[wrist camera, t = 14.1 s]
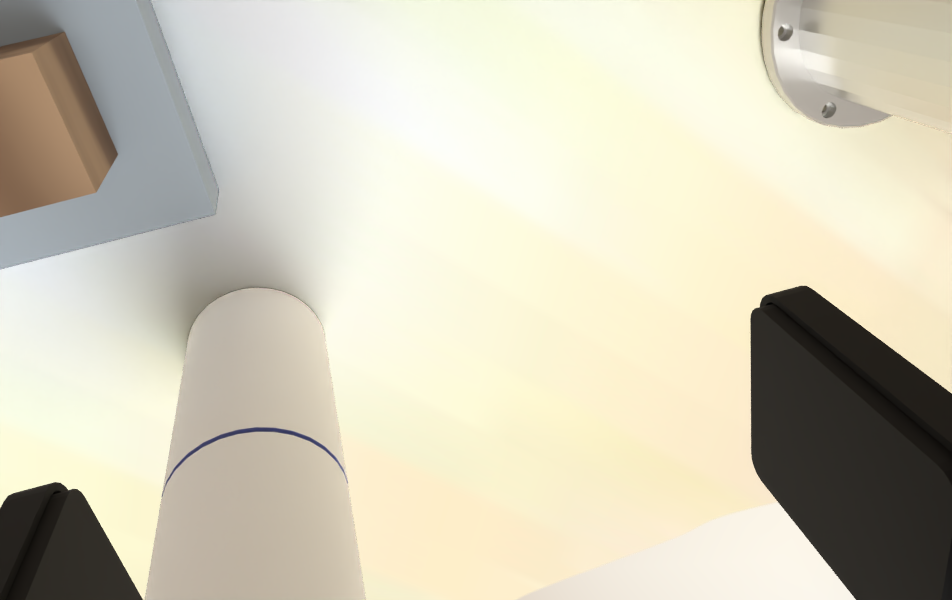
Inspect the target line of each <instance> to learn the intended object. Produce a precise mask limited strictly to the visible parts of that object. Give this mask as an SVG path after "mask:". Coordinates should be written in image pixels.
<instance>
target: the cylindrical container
mask: <svg viewBox="0 0 952 600" xmlns="http://www.w3.org/2000/svg"><path fill="white" fill-rule="evenodd" d="M145 600H366V597H365V590H364V584H363V577H362V571H361V565H360V558H359V552H358V545H357V539H356V532H355V526H354V519H353V513H352V507H351V500H350V494H349V487H348V481H347V474H346V468H345V462H344V455H343V449H342V442H341V436H340V429H339V423H338V417H337V410H336V404H335V397H334V391H333V384H332V378H331V372H330V365H329V359H328V352H327V346H326V339H325V334H324V331H323V328H322V325H321V323H320V321H319V319H318V318H317V316H316V314H315V313H314V312H313V311H312V310H311V309H310V308H309V307H308V305H306V304H305V303H303V302H302V301H301V300H299V299H298V298H296V297H294V296H292V295H290V294H288V293H285V292H283V291H279V290H275V289H271V288H246V289H241V290H237V291H233V292H230V293H228V294H226V295H223V296H221V297H219V298H217V299H216V300H215V301H213V302H212V303H210V304H209V305H208V306H207V307H206V308H205V309H204V310H203V311H202V312H201V313H200V314H199V315H198V317H197V318H196V320H195V322H194V324H193V325H192V327H191V331H190V334H189V338H188V343H187V349H186V355H185V361H184V367H183V373H182V379H181V385H180V391H179V397H178V403H177V409H176V415H175V421H174V427H173V433H172V439H171V445H170V451H169V457H168V463H167V469H166V475H165V481H164V486H163V492H162V499H161V504H160V510H159V516H158V523H157V529H156V535H155V541H154V547H153V553H152V559H151V565H150V571H149V577H148V583H147V589H146V595H145Z"/></svg>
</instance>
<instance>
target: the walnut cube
mask: <svg viewBox="0 0 952 600" xmlns="http://www.w3.org/2000/svg"><path fill="white" fill-rule="evenodd" d="M117 156H118V153H117V151H116V148H115V146H114V144H113V141H112V139H111V137H110V134H109V132H108V130H107V128H106V125H105V123H104V121H103V118H102V116H101V114H100V111H99V109H98V107H97V105H96V102H95V100H94V98H93V95H92V93H91V91H90V88H89V86H88V84H87V82H86V79H85V77H84V75H83V72H82V70H81V68H80V65H79V63H78V61H77V59H76V56H75V54H74V52H73V49H72V47H71V45H70V43H69V40H68V38H67V36H66V33H65V32H61V33H57V34H53V35H48V36H44V37H40V38H35V39H31V40H27V41H22V42H18V43H14V44H9V45H5V46H1V47H0V217H4V216H8V215H12V214H16V213H19V212H23V211H27V210H31V209H35V208H39V207H43V206H47V205H50V204H54V203H58V202H62V201H66V200H70V199H74V198H78V197H81V196H85V195H89V194H93V193H96V192H97V191H98V189H99V187H100V185H101V184H102V182H103V180H104V178H105V177H106V175H107V173H108V171H109V170H110V168H111V166H112V164H113V163H114V161H115V159H116V158H117Z"/></svg>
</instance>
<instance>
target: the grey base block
mask: <svg viewBox="0 0 952 600" xmlns="http://www.w3.org/2000/svg"><path fill="white" fill-rule="evenodd" d="M61 32H65V33H66V36H67V38H68V40H69V43H70V45H71V47H72V49H73V52H74V54H75V56H76V59H77V61H78V63H79V65H80V68H81V70H82V72H83V75H84V77H85V79H86V82H87V84H88V86H89V88H90V91H91V93H92V95H93V98H94V100H95V102H96V105H97V107H98V109H99V111H100V114H101V116H102V118H103V121H104V123H105V125H106V128H107V130H108V132H109V134H110V137H111V139H112V141H113V144H114V146H115V148H116V151H117V153H118V156H117V158H116V159H115V161H114V163H113V164H112V166H111V168H110V170H109V171H108V173H107V175H106V177H105V178H104V180H103V182H102V184H101V185H100V187H99V189H98V191H97V192H96V193H93V194H89V195H85V196H81V197H78V198H74V199H70V200H66V201H62V202H58V203H54V204H50V205H47V206H43V207H39V208H35V209H31V210H27V211H23V212H19V213H16V214H12V215H8V216H4V217H0V269H4V268H8V267H12V266H16V265H19V264H23V263H27V262H31V261H35V260H39V259H43V258H47V257H51V256H55V255H59V254H63V253H67V252H70V251H74V250H78V249H82V248H86V247H90V246H94V245H98V244H102V243H106V242H110V241H114V240H118V239H121V238H125V237H129V236H133V235H137V234H141V233H145V232H149V231H153V230H157V229H161V228H165V227H169V226H172V225H176V224H180V223H184V222H188V221H192V220H196V219H200V218H204V217H208V216H212V215H215V214H216V207H217V200H218V193H219V188H218V185H217V183H216V180H215V177H214V174H213V172H212V169H211V166H210V163H209V161H208V158H207V155H206V152H205V150H204V147H203V144H202V141H201V138H200V136H199V133H198V130H197V127H196V125H195V122H194V119H193V116H192V114H191V111H190V108H189V105H188V103H187V100H186V97H185V94H184V92H183V89H182V86H181V83H180V80H179V78H178V75H177V72H176V69H175V67H174V64H173V61H172V58H171V56H170V53H169V50H168V47H167V45H166V42H165V39H164V36H163V33H162V31H161V28H160V25H159V22H158V20H157V17H156V14H155V11H154V9H153V6H152V3H151V0H0V47H1V46H5V45H9V44H14V43H18V42H22V41H27V40H31V39H35V38H40V37H44V36H48V35H53V34H57V33H61Z"/></svg>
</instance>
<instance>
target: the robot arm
mask: <svg viewBox="0 0 952 600" xmlns="http://www.w3.org/2000/svg"><path fill="white" fill-rule="evenodd" d="M762 47H763V55H764V62H765V65H766V68H767V71H768V74H769V77H770V80H771V82H772V84H773V85H774V87H775V89H776V90H777V92H778V94H779V95H780V97H781V98H782V99H783V100H784V101H785V102H786V103H787V104H788V105H789V106H790V107H791V108H792V109H793V110H794V111H796V112H797V113H799V114H801V115H802V116H804V117H806V118H807V119H810V120H812V121H815V122H817V123H820V124H823V125H827V126H833V127H839V128H853V127H863V126H866V125H870V124H874V123H877V122H881V121H883V120H885V119H887V118H889V117H891V116H893V115H894V116H897V117H900V118H903V119H906V120H909V121H912V122H916V123H919V124H922V125H925V126H928V127H931V128H934V129H938V130H941V131H944V132H947V133H950V134H952V0H766V1H765V6H764V11H763V17H762ZM751 454H752V461H753V465H754V468H755V470H756V472H757V474H758V476H759V478H760V479H761V481H762V482H763V483H764V485H765V486H766V487H767V489H768V490H769V491H770V492H771V494H772V495H773V496H774V497H775V499H776V500H777V501H778V502H779V504H780V505H781V506H782V507H783V508H784V510H785V511H786V512H787V513H788V515H789V516H790V517H791V519H792V520H793V521H794V522H795V523H796V525H797V526H798V527H799V529H800V530H801V531H802V532H803V533H804V535H805V536H806V537H807V539H808V540H809V541H810V542H811V544H812V545H813V546H814V547H815V549H816V550H817V551H818V552H819V554H820V555H821V556H822V557H823V559H824V560H825V561H826V562H827V564H828V565H829V566H830V567H831V569H832V570H833V571H834V572H835V574H836V575H837V576H838V577H839V579H840V580H841V581H842V583H843V584H844V585H845V586H846V588H847V589H848V590H849V591H850V593H851V594H852V595H853V596H854V598H855V599H856V600H952V394H951V393H950V392H949V391H947V390H946V389H945V388H943V387H942V386H941V385H939V384H938V383H937V382H935V381H934V380H933V379H931V378H930V377H929V376H927V375H926V374H925V373H923V372H922V371H921V370H919V369H918V368H917V367H915V366H914V365H913V364H911V363H910V362H909V361H907V360H906V359H905V358H903V357H902V356H901V355H899V354H898V353H897V352H895V351H894V350H893V349H891V348H890V347H889V346H887V345H886V344H885V343H883V342H882V341H881V340H879V339H878V338H877V337H875V336H874V335H873V334H871V333H870V332H869V331H867V330H866V329H865V328H863V327H862V326H861V325H859V324H858V323H857V322H855V321H854V320H853V319H851V318H850V317H849V316H847V315H846V314H845V313H843V312H842V311H841V310H839V309H838V308H837V307H835V306H834V305H833V304H831V303H830V302H829V301H827V300H826V299H825V298H823V297H822V296H821V295H819V294H818V293H817V292H815V291H814V290H813V289H811V288H809V287H807V286H799V287H795V288H791V289H788V290H784V291H780V292H776V293H772V294H769V295H766V296H764V297H763V298H762V301H761V303H760V307H759V308H756V309H754V310H753V311H752V314H751ZM0 600H143V599H142V598H141V596H140V594H139V592H138V590H137V589H136V587H135V585H134V583H133V582H132V580H131V578H130V576H129V575H128V573H127V571H126V569H125V567H124V566H123V564H122V562H121V560H120V559H119V557H118V555H117V553H116V551H115V550H114V548H113V546H112V544H111V543H110V541H109V539H108V537H107V536H106V534H105V532H104V530H103V528H102V527H101V525H100V523H99V521H98V520H97V518H96V516H95V514H94V513H93V511H92V509H91V507H90V505H89V504H88V502H87V500H86V498H85V497H84V495H83V494H82V493H81V492H80V491H79V490H78V489H72V490H68V489H67V488H66V487H65V486H64V485H62V484H61V483H57V482H55V483H51V484H47V485H43V486H39V487H36V488H32V489H28V490H24V491H20V492H17V493H13V494H11V495H9V496H8V497H7V498H6V500H5V501H4V502H3V504H2V506H1V508H0Z"/></svg>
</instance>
